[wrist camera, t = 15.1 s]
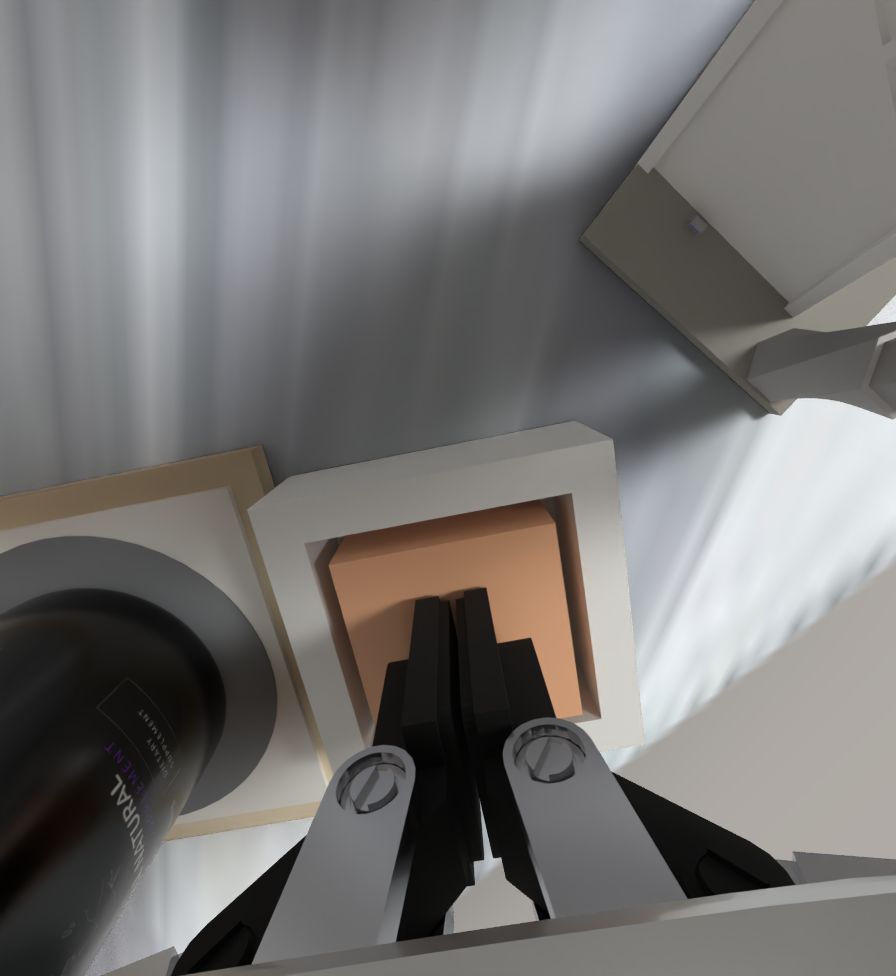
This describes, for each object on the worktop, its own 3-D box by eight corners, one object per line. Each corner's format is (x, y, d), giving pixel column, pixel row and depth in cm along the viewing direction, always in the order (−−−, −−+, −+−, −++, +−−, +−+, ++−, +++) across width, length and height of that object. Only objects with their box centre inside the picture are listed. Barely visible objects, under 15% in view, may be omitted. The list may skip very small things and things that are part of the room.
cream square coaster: (-146, 525, 14) (-197, 540, 12) (262, 444, 13) (245, 452, 12) (32, 842, 17) (4, 875, 16) (366, 787, 16) (360, 817, 15)
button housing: (289, 476, 13) (247, 510, 10) (575, 420, 13) (613, 439, 10) (358, 712, 15) (339, 794, 12) (606, 669, 15) (644, 744, 12)
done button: (346, 532, 12) (328, 565, 10) (537, 496, 12) (555, 523, 10) (389, 693, 14) (380, 748, 12) (562, 662, 13) (582, 714, 12)
